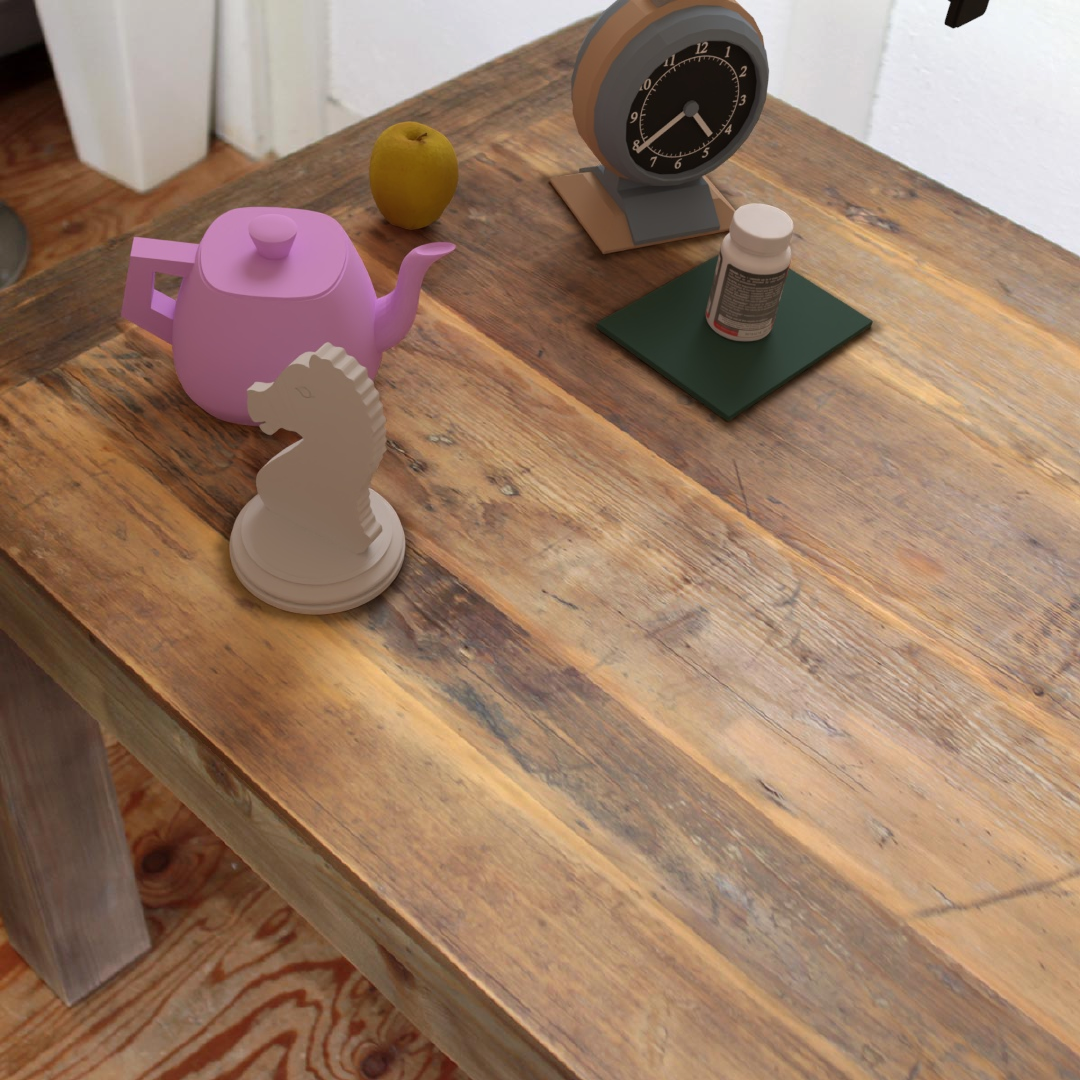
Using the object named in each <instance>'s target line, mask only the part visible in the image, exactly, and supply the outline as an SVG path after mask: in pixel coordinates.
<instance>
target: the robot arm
mask: <svg viewBox="0 0 1080 1080" xmlns="http://www.w3.org/2000/svg"><path fill="white" fill-rule="evenodd" d="M947 1H948V2H949V6H948V9H947V12H946V16H945V18H944V22H943V23H944V26H947V27H949V28H951V29H952V30H953V29H956V28H957V29H959V28H960V27H963V26H964V25H966V24H968V23H970V22H972V21H974V20H976V19H978V18H980V17H982V16H983V15H985V13H986V12H987V9H988V6H989V3H990V0H947Z"/></svg>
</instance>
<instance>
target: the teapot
mask: <svg viewBox="0 0 1080 1080" xmlns="http://www.w3.org/2000/svg"><path fill="white" fill-rule="evenodd" d="M456 246H457V245H456V244H454V243H453V242H448V241H437V242H430V243H425V244H422V245H419V246H417V247H415V248H412V250H411V251H409V252H408V253H407V255H406V256H405V257H404V258H403V260H402V262H401V263H400V267H399V272H398V275H397V281H396V285H395V287H394V289H393V290H392V291H391V292H389V293H388V294H386V295H383V296H380V297H377V293H376V291H375V288H374V285H373V282H372V279H371V277H370V275H369V272H368V270H367V268H366V265H365V263H364V261H363V259H362V258H361V256H360V254H359V253H358V251H357V249H356V247H355V245H354V243H353V242H352V240H351V239H350V237H349V235H348V234H347V232H346V230H345V228H343V226H342V225H341V224H340V223H339V222H338V221H337V220H336V219H335V218H333V217H332V216H330V215H328V214H326V213H322V212H319V211H315V210H308V209H301V208H291V207H280V206H245V207H237V208H233V209H230V210H228V211H225V212H224V213H222V214H220V215H219V216H218V217H217V218H215V219H214V221H212V222H211V223H210V225H209V227H208V228H207V229H206V231H205V232H204V235H203V236H202V239H201V240H200V242H199V243H193V242H183V241H175V240H166V239H157V238H149V237H139V236H133V240H132V246H131V249H130V256H129V262H128V269H127V274H126V280H125V287H124V293H123V299H122V306H121V310H120V317H122V318H123V319H125V320H127V321H129V322H130V323H132V324H133V325H136V326H137V327H139V328H141V329H142V330H144V331H145V332H148V333H150V334H152V335H153V336H155V337H157V338H158V339H160V340H162V341H164V342H166V343H167V344H169V345H171V346H172V348H171V349H172V358H173V363H174V369H175V372H176V375H177V378H178V380H179V382H180V384H181V387H182V388H183V390H184V392H185V394H187V396H188V397H189V398H190V399H191V400H192V402H194V403H195V404H196V405H197V406H198V407H199V408H201V409H202V410H204V412H206V413H208V414H209V415H211V416H212V417H214V418H216V419H219V420H221V421H224V422H227V423H231V424H237V425H244V426H252V427H259V428H260V426H259V425H260V424H261V423H263V422H254V421H253V420H252V419H251V417H250V415H249V413H248V408H247V398H248V395H247V389H249V388H250V387H251V386H252V385H253V384H254V383H255V382H263V383H272V382H275V380H276V379H277V378H278V377H279V375H280V374H281V373H282V372H283V370H284V369H285V368H286V367H288V366H289V365H290V364H291V363H292V362H293V361H294V360H295V359H297V358H298V357H299V356H300V355H302V354H303V353H305V352H316V351H317V350H318V349H319V348H320V347H321V346H323V345H324V344H325V343H327V342H329V343H331V344H332V345H333V346H335V347H342V348H343V349H344V350H345V352H346V354H347V355H349V356H352V357H354V358H355V359H356V360H357V361H358V363H359V364H360V365H361V366H363V367H365V368H366V369H367V374H368V377H369V378H370V379H371V380H372V381H373V382H374V380H375V379H376V376H377V374H378V371H379V368H380V365H381V362H382V359H383V353H384V352H386V351H388V350H390V349H393V348H394V347H396V346H397V345H398V344H399V343H401V341H403V340H404V339H405V338H406V336H407V335H408V334H409V332H410V330H411V329H412V327H413V325H414V322H415V320H416V316H417V313H418V308H419V304H420V303H419V302H420V295H421V289H422V284H423V280H424V278H425V276H426V273H427V272H428V270H429V268H430V267H431V266H432V265H433V264H434V263H435V262H437V261H438V260H440V259H441V258H443V257H445V256H448V255H449V254H450V253H453V252H454V250H455V249H456ZM156 273H159V274H163V275H169V276H175V277H179V278H182V280H181V284H180V286H179V290H178V292H177V297H176V300H175V299H174V298H172V297H170V296H168V295H167V294H164V293H163V292H161V291H159V290H158V289H156V288H155V278H156Z"/></svg>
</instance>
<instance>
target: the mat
mask: <svg viewBox="0 0 1080 1080" xmlns="http://www.w3.org/2000/svg"><path fill="white" fill-rule="evenodd" d="M718 257H719V253H718V254H717V255H715V256H713V257H711V258H709V259H707V260H706V261H704V262H702V263H700V264H698V265H697V266H695V267H693V268H691V269H690V270H688V271H687V272H684V273H683V274H681V275H679V276H677V277H676V278H674V279H672V280H670V281H668V282H667V283H665V284H663V285H661V286H660V287H658V288H655V289H654V290H652V291H650V292H649V293H647V294H645V295H644V296H642V297H640V298H638V299H636V300H635V301H632V302H631V303H629V304H627V305H626V306H624V307H622V308H620V309H619V310H617V311H614V312H613V313H611V314H610V315H608V316H606V317H604V318H602V319H600V320H599V321H597V322H596V326H595V328H596V329H597V330H599V331H600V332H601V333H603V334H604V335H606V336H607V337H608V338H610V340H612V341H614V342H616V343H617V344H618V345H619V346H621V347H622V348H624V349H625V350H627V351H628V352H629V353H631V354H632V355H633V356H634V357H636V358H638V359H639V360H641V361H642V362H644V363H645V364H646V365H647V366H649V367H651V369H653V370H654V371H656V372H657V373H658V374H660V375H662V376H663V377H664V378H665V379H667V380H668V381H670V382H671V383H673V384H674V385H675V386H677V387H678V388H679V389H681V390H683V391H684V392H685V393H687V394H688V395H689V396H691V397H692V398H693V399H695V400H697V401H698V402H699V403H700V404H702V405H703V406H705V407H707V409H709V410H711V411H712V412H713V413H715V414H716V415H717V416H718V417H720V418H721V419H723V420H724V421H726V422H730V421H731V420H733V419H734V418H736V417H738V415H740V414H742V413H743V412H744V411H746V410H748V409H749V408H751V407H752V406H754V405H755V404H756V403H758V402H760V401H761V400H762V399H764V398H766V397H767V396H769V395H770V394H772V393H774V392H775V391H777V390H778V389H779V388H781V387H783V386H784V385H785V384H787V383H789V381H791V380H793V379H794V378H795V377H797V376H799V375H801V374H802V373H804V372H805V371H807V369H809V368H811V367H813V366H814V365H815V364H817V363H818V362H820V361H821V360H823V359H824V358H826V357H827V356H828V355H830V354H832V353H833V352H835V351H837V350H838V349H840V348H841V347H842V346H844V345H845V344H847V343H849V342H850V341H851V340H853V339H854V338H855V337H857V336H859V335H861V334H862V333H864V332H865V331H866V330H868V329H870V328H871V327H872V325H873V322H874V320H872V319H870V318H869V317H867V316H866V315H864V314H863V313H861V312H859V311H857V310H856V309H854V307H851V305H848V304H847V303H845V302H844V301H842V300H840V298H838V297H836V296H834V295H832V294H831V293H829V292H828V291H827V290H825V289H823V288H822V287H820V286H819V285H816V284H815V283H813V282H812V281H811V280H809V279H808V278H806V277H805V276H803V275H801V274H799V273H798V272H796V271H795V270H793V269H792V268H790V267H789V270H788V273H787V277H786V280H785V284H784V287H783V291H782V295H781V298H780V302H779V305H778V309H777V312H776V316H775V320H774V323H773V327H772V329H771V331H770V332H769V334H768V335H766V336H765V337H764V338H762V339H759V340H756V341H735V340H730V339H727V338H725V337H723V336H721V335H719V334H718V333H716V332H715V331H714V330H713V329H712V328H711V327H710V325H709V324H708V322H707V319H706V309H707V304H708V300H709V296H710V292H711V288H712V283H713V279H714V274H715V270H716V266H717V261H718Z"/></svg>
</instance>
